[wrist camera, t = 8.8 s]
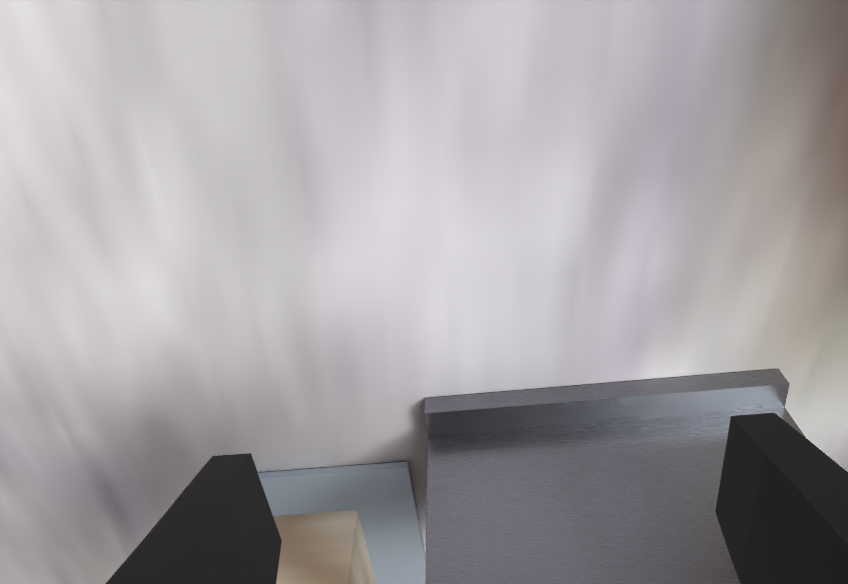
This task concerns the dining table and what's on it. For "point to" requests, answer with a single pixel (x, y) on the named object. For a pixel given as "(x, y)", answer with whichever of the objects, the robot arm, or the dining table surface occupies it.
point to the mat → (360, 510)
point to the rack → (586, 480)
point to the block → (323, 549)
